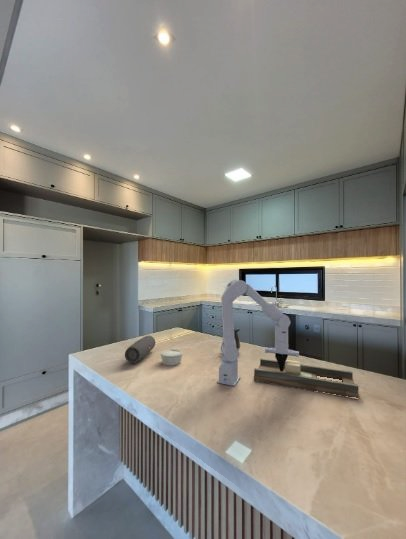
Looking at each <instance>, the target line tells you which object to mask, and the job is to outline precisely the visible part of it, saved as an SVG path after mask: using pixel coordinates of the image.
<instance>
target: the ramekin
mask: <svg viewBox="0 0 406 539" xmlns="http://www.w3.org/2000/svg"><path fill="white" fill-rule="evenodd" d="M160 356H161V361H162V364H163V365H165V366H168V367H169V366H170V367H171V366H177V365H180V363H181V362H182V357H183V351H182V350H179V349H166V350H163V351H161V352H160Z"/></svg>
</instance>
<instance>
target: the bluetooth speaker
mask: <svg viewBox="0 0 406 539" xmlns="http://www.w3.org/2000/svg"><path fill="white" fill-rule="evenodd" d="M156 343H157V342H156V339H155V338H154V336H152V335H145V336H143V337H142V338H140V339H138V340H136V341H135V342H134V343H132V344H131V345H130V346H128V347H127V348H126V350H125V351H124V358H125V361H127V362H128V363H131V364H136V363H137V362H140V361H142V360H144V359H145V357H147V355H148V354H149V353H150V352H152V350H154V348H155V346H156Z"/></svg>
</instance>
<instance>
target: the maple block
mask: <svg viewBox="0 0 406 539" xmlns="http://www.w3.org/2000/svg"><path fill="white" fill-rule="evenodd" d="M285 362H286V363H285V373H289V374H295V375H300V364H301V361H296V360H289V359H286V361H285Z"/></svg>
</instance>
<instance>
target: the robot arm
mask: <svg viewBox="0 0 406 539" xmlns="http://www.w3.org/2000/svg"><path fill="white" fill-rule="evenodd" d="M224 289H225V290H224V291H223V293H222V295H221V300H220V301H221V315H222V316H221V317H222V334H223V335H222V336H223V337H222V341H221V342H222V343H221V345H220V351H221V353H222V355H221V358H220V359H221V361H220V366H219V367H218V379H217V381H216V383H218V384H223V385H227V386H232V387H235V386H236V385H237V383H238V382H239V381H240V379H241V376H240V375H239V374H238V373H239V371H238V369H239V365H238V364H239V363H238V361H239V359H238V358H239V357H240V356H239V355H240V352H239V351H238V350H237V348H236V342H235V337H234V328H235V323H234V305H233V304H234V302H235V301H236V300H237V298H239V297H241V296H243V295H244V296H248V297H249V298H250V299H251V300H253V301H254V302H255V303H256V304H258V305H259V306H260V307H261V311H262V313H263V314H264V315H266V316H267V317H268V318H269V319H271V321H272V322H273V324H274V347H265V348H264V353H265V354H275V355H274V356H275V357H274V358H275V360H276V361H277V362H278V364H279V368H280V371H282V372H283V368H284V364H285V362H286V360H288V357H296V358H299V357H300V351H298V350H297V351H296V350H293V349H290V348H289V327H290V326H291V323H292V322H291V320H290V318H289V316H288V315H287V314H284V311H283V310H280V309H279V308H278V307H277V306H276V305H277V304H276V303H275V302H272V301H266V300H265V299H264V297H262V296H261V295H260V294H259V293H258V292H257V291H256V290H255V289H254V288H253V287H252V286H251V285H250V284H248V283H247V282H245V281H244V280H241V279H240V280H239V279H233V280H231V281H230V282H229V283H228V284H227V285H226V287H225V288H224Z"/></svg>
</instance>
